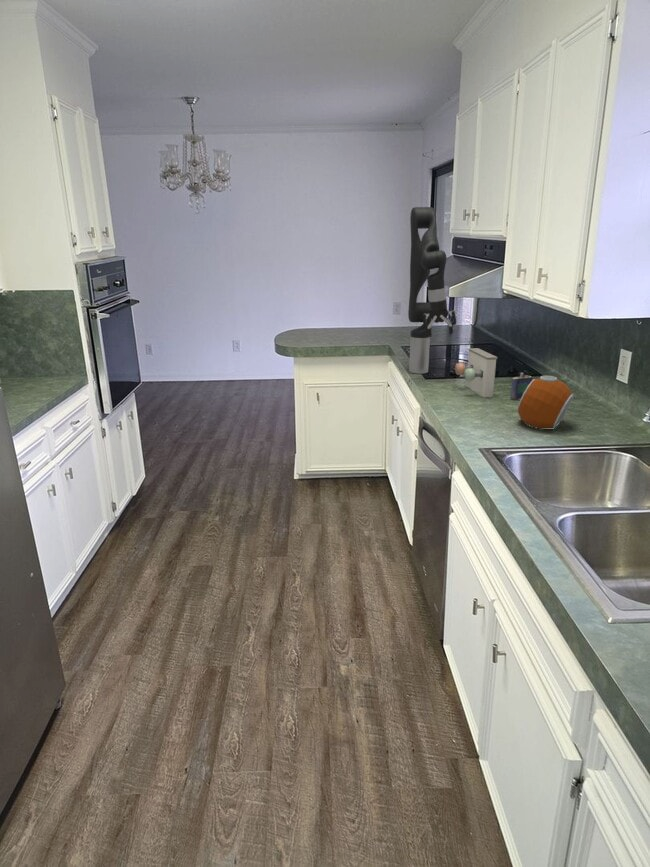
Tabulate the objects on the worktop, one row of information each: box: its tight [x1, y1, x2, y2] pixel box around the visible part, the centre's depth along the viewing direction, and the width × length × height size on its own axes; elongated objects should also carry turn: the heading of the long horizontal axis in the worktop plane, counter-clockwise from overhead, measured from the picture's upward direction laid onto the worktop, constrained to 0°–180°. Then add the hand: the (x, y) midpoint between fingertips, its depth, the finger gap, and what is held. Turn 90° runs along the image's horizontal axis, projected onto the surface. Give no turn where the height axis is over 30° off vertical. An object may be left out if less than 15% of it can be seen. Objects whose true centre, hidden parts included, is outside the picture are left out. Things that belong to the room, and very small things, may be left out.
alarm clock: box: [516, 375, 574, 429], centre depth 206 cm, size 19×18×17 cm
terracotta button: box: [454, 362, 473, 376], centre depth 250 cm, size 5×8×5 cm, turn 100°
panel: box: [465, 347, 498, 398], centre depth 247 cm, size 19×4×17 cm, turn 10°
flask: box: [509, 372, 533, 400], centre depth 238 cm, size 9×3×11 cm, turn 109°
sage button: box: [463, 368, 483, 382], centre depth 241 cm, size 5×8×5 cm, turn 100°
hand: (440, 335), depth 257 cm, fingers open, 8 cm apart
